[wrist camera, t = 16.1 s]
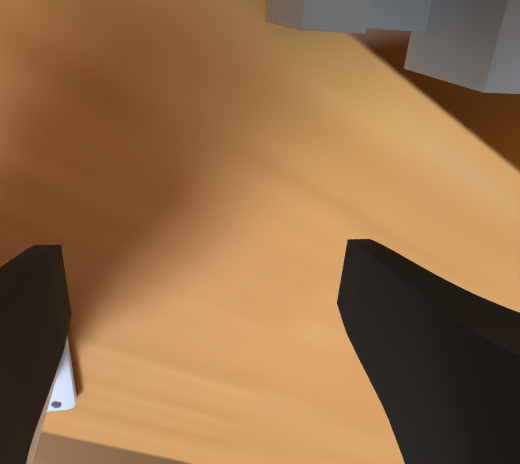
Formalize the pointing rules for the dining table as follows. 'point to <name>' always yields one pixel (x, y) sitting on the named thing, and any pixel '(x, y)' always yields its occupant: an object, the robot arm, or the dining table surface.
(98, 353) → the dining table surface
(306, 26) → the grey stepped block
